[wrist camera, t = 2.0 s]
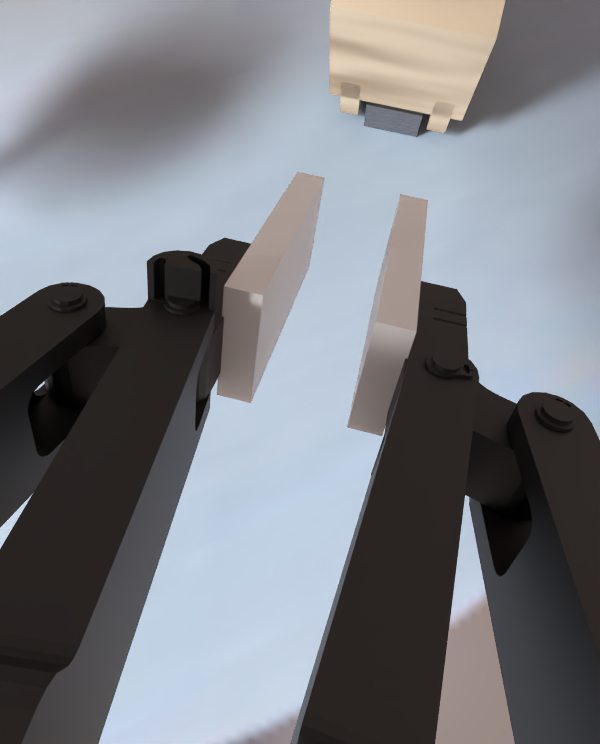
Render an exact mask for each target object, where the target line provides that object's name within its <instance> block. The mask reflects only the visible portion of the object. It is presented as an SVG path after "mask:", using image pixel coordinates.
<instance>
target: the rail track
mask: <svg viewBox="0 0 600 744" xmlns="http://www.w3.org/2000/svg"><path fill="white" fill-rule="evenodd" d="M422 117H423V113H421V112H416V111H411V110H406V109H401V108H397V107H392V106H387V105H382V104H377V103H372V102H367V104H366V112H365V121H364V126H368V127H373V128H377V129H382V130H387V131H392V132H397V133H401V134H406V135H411V136H416V137H417V134H418V130H419V127H420V123H421V120H422Z"/></svg>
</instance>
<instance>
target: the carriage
mask: <svg viewBox="0 0 600 744" xmlns="http://www.w3.org/2000/svg"><path fill="white" fill-rule="evenodd" d="M504 4H505V0H332V1H331V5H330V81H329V94H333V95H338V96H341V98H340V111H341V112H345V113H350V114H355V115H358V112H359V109H360V105H361V101H362V100H363V101H367V102H372V103H377V104H382V105H387V106H392V107H397V108H401V109H406V110H411V111H416V112H421V113H426V114H430V117H429V121H428V125H427V130H432V131H437V132H442V133H445V131H446V129H447V126H448V123H449V121H450V119H455V120H460V121H462V119H463V117H464V115H465V112H466V110H467V108H468V105H469V103H470V101H471V98H472V96H473V93H474V91H475V89H476V86H477V84H478V82H479V79H480V77H481V75H482V72H483V70H484V67H485V65H486V63H487V60H488V58H489V56H490V53H491V51H492V49H493V46H494V44H495V41H496V39H497V35H498V30H499V26H500V22H501V17H502V13H503V9H504Z"/></svg>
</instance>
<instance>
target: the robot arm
mask: <svg viewBox="0 0 600 744" xmlns="http://www.w3.org/2000/svg"><path fill="white" fill-rule="evenodd" d="M323 183H324V178H323V177H319V176H314V175H309V174H305V173H300V172H297V174H296V175H295V177H294V178H293V180H292V181H291V183H290V185H289V186H288V188H287V189H286V191H285V192H284V194H283V195H282V197H281V198H280V200H279V202H278V203H277V205H276V206H275V208H274V209H273V211H272V212H271V214H270V216H269V217H268V219H267V220H266V222H265V223H264V225H263V226H262V228H261V229H260V231H259V233H258V234H257V236H256V237H255V239H254V240H253V242H252V243H251V244H249V243H245V242H241V241H236V240H232V239H228V238H223V239H221V240H219V241H217V242H215V243H212V244H210V245H209V246H208V247H207V249H206V250H205V251H204V253H203V254H202V255H201V254H198V253H194V252H191V251H178V250H177V251H168V252H163V253H160V254H157V255H154V256H153V257H152V258H150V259H149V260H148V261H147V278H148V300H147V302H146V304H145V305H144V307H141V308H115V307H105V299H104V296H103V294H102V293H101V292H100V291H99V290H98V289H96V288H94V287H92V286H90V285H85V284H80V283H72V282H71V283H69V282H68V283H60V284H55V285H50V286H48V287H45V288H43V289H41V290H39V291H37V292H36V293H34V294H33V295H31V296H30V297H28V298H27V299H25V300H24V301H22V302H21V303H19V304H18V305H16V306H15V307H13V308H12V309H10V310H9V311H7V312H6V313H4V314H3V315H1V316H0V527H1V526H2V525H3V524H4V523H5V522H6V521H7V520H8V519H9V518H10V517H11V516H12V515H13V514H14V513H15V512H16V511H17V509H18V508H19V507H20V506H21V505H22V504H23V503H24V502H25V501H26V500H27V499H28V498H29V497H30V496H31V495H32V494H33V495H32V496H31V498H30V500H29V501H28V503H27V505H26V506H25V508H24V510H23V512H22V513H21V515H20V517H19V518H18V520H17V522H16V523H15V525H14V527H13V528H12V530H11V532H10V533H9V535H8V537H7V539H6V540H5V542H4V544H3V545H2V547H1V549H0V744H98V743H99V740H100V737H101V734H102V731H103V728H104V725H105V722H106V719H107V716H108V713H109V710H110V707H111V704H112V701H113V698H114V695H115V692H116V689H117V686H118V683H119V680H120V677H121V674H122V671H123V668H124V665H125V662H126V659H127V655H128V652H129V649H130V646H131V643H132V640H133V637H134V634H135V631H136V628H137V625H138V622H139V619H140V616H141V613H142V610H143V607H144V604H145V601H146V598H147V595H148V592H149V589H150V586H151V583H152V580H153V577H154V574H155V571H156V568H157V565H158V562H159V559H160V556H161V553H162V550H163V547H164V544H165V541H166V538H167V535H168V532H169V529H170V526H171V523H172V520H173V517H174V514H175V511H176V508H177V505H178V502H179V499H180V496H181V493H182V490H183V487H184V484H185V481H186V478H187V475H188V472H189V469H190V466H191V463H192V460H193V457H194V454H195V451H196V448H197V445H198V442H199V439H200V436H201V433H202V430H203V427H204V424H205V421H206V418H207V415H208V412H209V409H210V393H211V390H212V388H213V386H214V384H215V382H216V380H217V378H218V387H217V395H221V396H225V397H229V398H232V399H236V400H240V401H244V402H248V403H251V401H252V399H253V396H254V394H255V392H256V389H257V387H258V385H259V382H260V380H261V378H262V375H263V373H264V371H265V368H266V366H267V364H268V361H269V359H270V357H271V354H272V352H273V350H274V347H275V345H276V343H277V340H278V338H279V336H280V333H281V331H282V329H283V326H284V324H285V322H286V319H287V317H288V315H289V312H290V310H291V308H292V305H293V303H294V301H295V298H296V296H297V293H298V291H299V289H300V286H301V284H302V282H303V279H304V277H305V275H306V272H307V270H308V268H309V265H310V259H311V254H312V248H313V242H314V236H315V230H316V224H317V218H318V212H319V206H320V200H321V194H322V188H323ZM427 204H428V200H424V199H420V198H415V197H411V196H406V195H401V194H400V198H399V201H398V205H397V209H396V213H395V217H394V221H393V225H392V228H391V232H390V236H389V240H388V244H387V248H386V252H385V255H384V259H383V263H382V267H381V271H380V275H379V278H378V283H377V287H376V292H375V297H374V302H373V306H372V311H371V316H370V321H369V325H368V330H367V335H366V340H365V344H364V349H363V354H362V359H361V363H360V368H359V373H358V378H357V382H356V387H355V392H354V397H353V401H352V406H351V411H350V416H349V421H348V425H347V427H348V428H352V429H356V430H360V431H364V432H368V433H372V434H376V435H380V436H382V434H383V431H384V428H385V425H386V428H385V434H384V437H383V440H382V443H381V446H380V449H379V452H378V455H377V458H376V461H375V464H374V467H373V470H372V473H371V479H370V482H369V486H368V489H367V492H366V495H365V499H364V502H363V505H362V509H361V512H360V515H359V519H358V522H357V525H356V528H355V532H354V535H353V538H352V542H351V545H350V548H349V552H348V555H347V558H346V561H345V565H344V568H343V571H342V575H341V578H340V581H339V585H338V588H337V591H336V594H335V598H334V601H333V604H332V608H331V611H330V614H329V618H328V621H327V624H326V627H325V631H324V634H323V637H322V641H321V644H320V647H319V651H318V654H317V657H316V661H315V664H314V667H313V670H312V674H311V677H310V680H309V684H308V687H307V690H306V694H305V697H304V700H303V703H302V707H301V710H300V713H299V717H298V720H297V723H296V727H295V730H294V733H293V736H292V740H291V743H290V744H435V739H436V731H437V722H438V714H439V706H440V697H441V689H442V681H443V672H444V664H445V655H446V648H447V640H448V631H449V623H450V615H451V606H452V598H453V590H454V582H455V573H456V565H457V557H458V548H459V540H460V532H461V524H462V515H463V507H464V499H465V495H467V496H469V497H470V498H469V506H470V511H471V517H472V522H473V527H474V532H475V537H476V543H477V548H478V553H479V558H480V564H481V569H482V574H483V579H484V584H485V590H486V595H487V600H488V605H489V610H490V615H491V621H492V626H493V631H494V636H495V642H496V647H497V652H498V658H499V663H500V668H501V673H502V678H503V683H504V689H505V694H506V699H507V705H508V710H509V715H510V720H511V725H512V730H513V736H514V741H515V744H600V440H599V438H598V436H597V434H596V432H595V429H594V427H593V425H592V423H591V422H590V420H589V419H588V417H587V416H586V415H585V413H584V412H583V411H581V410H580V409H579V408H578V407H577V406H575V405H574V404H573V403H571V402H569V401H568V400H565V399H564V398H561V397H559V396H556V395H552V394H548V393H541V392H532V393H529V394H526V395H523V396H522V397H521V399H520V400H519V401H518V403H517V404H516V403H514V402H512V401H509V400H507V399H505V398H503V397H501V396H499V395H497V394H495V393H493V392H491V391H489V390H488V389H487V388H485V387H484V386H483V385H481V384H480V383H479V375H478V370H477V368H476V367H475V366H474V364H473V363H472V362H471V361H470V360H469V359H468V340H467V327H466V326H467V317H466V302H465V300H464V299H463V297H462V296H461V295H460V293H459V292H458V290H457V289H453V288H449V287H445V286H440V285H436V284H431V283H427V282H423V281H421V273H422V262H423V250H424V239H425V227H426V215H427ZM44 381H45V384H44V385H43V386H42V387H41V388H39V389H38V390H36V388H37V387H38V386H39V385H40V384H41V383H42V382H44ZM35 390H36V391H35ZM34 391H35V392H34Z"/></svg>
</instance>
